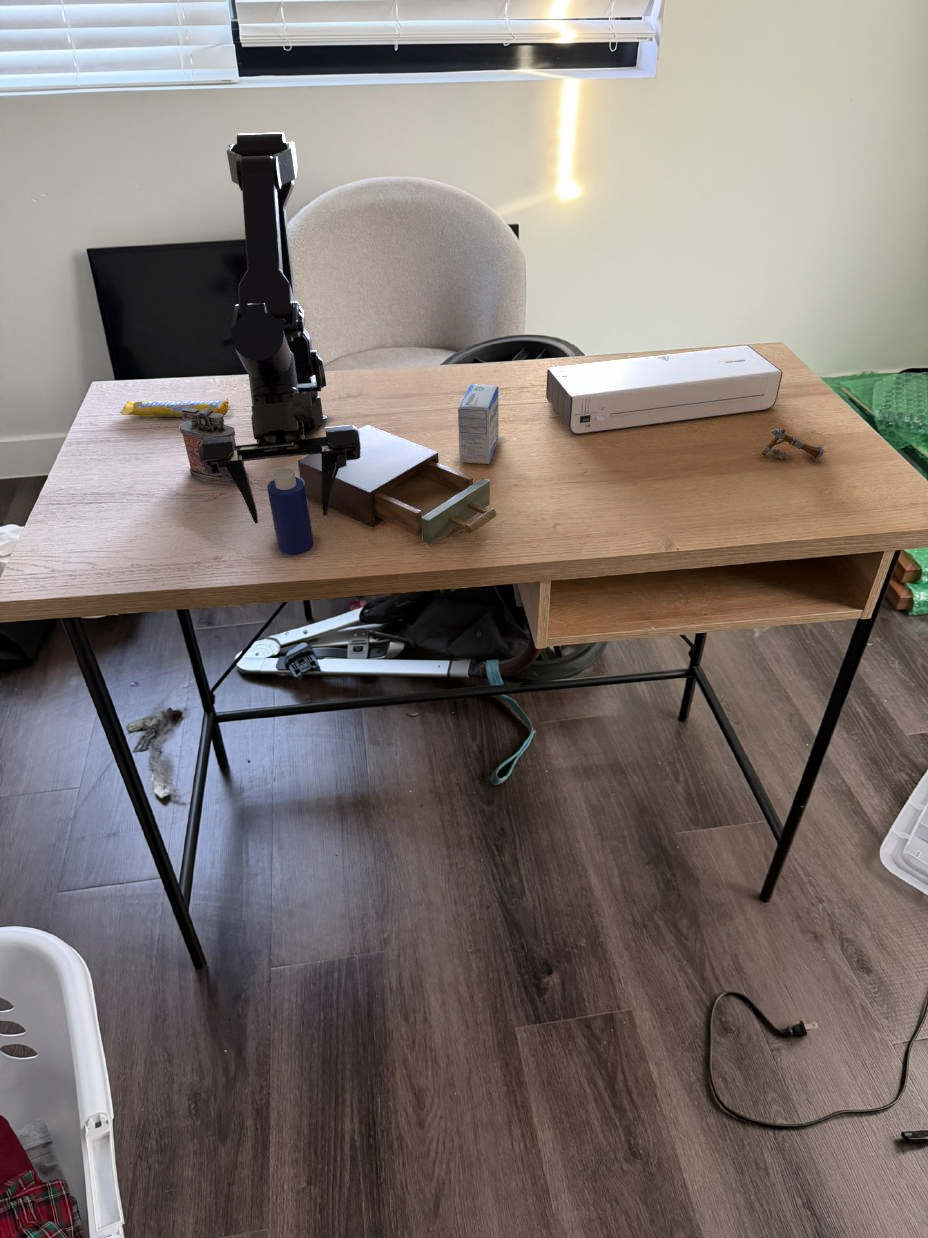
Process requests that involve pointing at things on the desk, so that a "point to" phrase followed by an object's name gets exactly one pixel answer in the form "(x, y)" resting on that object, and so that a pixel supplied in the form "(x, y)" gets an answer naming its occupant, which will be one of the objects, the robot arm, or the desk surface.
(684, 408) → the laminator
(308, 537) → the glue bottle
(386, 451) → the cabinet
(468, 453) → the medicine box
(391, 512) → the drawer
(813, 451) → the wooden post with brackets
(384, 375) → the desk surface
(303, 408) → the robot arm
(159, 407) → the candy bar
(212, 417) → the lighter
